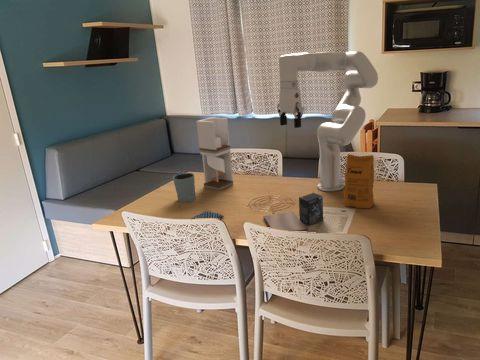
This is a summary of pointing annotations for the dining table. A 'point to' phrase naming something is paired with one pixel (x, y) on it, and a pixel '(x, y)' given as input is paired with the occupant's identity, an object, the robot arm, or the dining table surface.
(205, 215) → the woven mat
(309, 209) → the box
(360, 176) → the coffee package
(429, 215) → the dining table surface
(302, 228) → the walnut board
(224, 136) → the white drip coffee maker
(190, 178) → the teal cup
